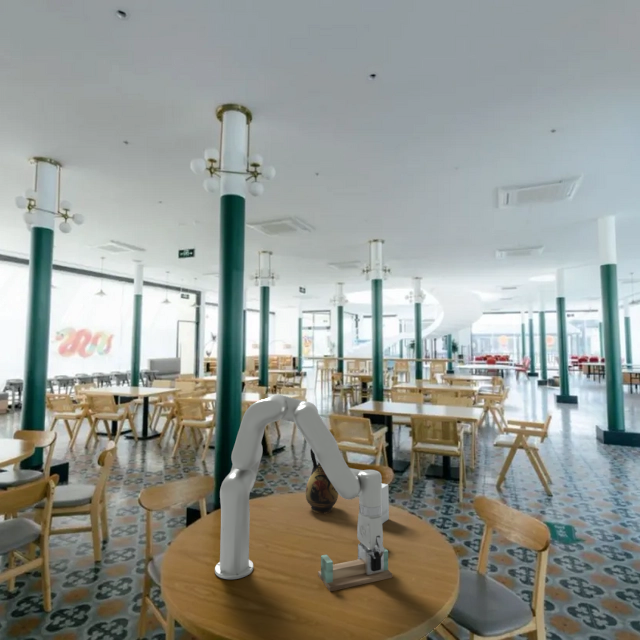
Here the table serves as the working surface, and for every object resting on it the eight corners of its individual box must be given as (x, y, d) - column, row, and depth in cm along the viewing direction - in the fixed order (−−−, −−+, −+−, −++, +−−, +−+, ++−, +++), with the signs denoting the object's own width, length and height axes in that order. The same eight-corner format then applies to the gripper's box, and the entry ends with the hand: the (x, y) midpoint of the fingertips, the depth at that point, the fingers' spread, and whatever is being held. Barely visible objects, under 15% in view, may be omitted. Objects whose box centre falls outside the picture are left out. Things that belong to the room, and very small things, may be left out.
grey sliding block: (357, 564, 139) (357, 544, 139) (373, 561, 141) (373, 541, 141) (367, 575, 132) (367, 553, 133) (383, 571, 134) (383, 550, 135)
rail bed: (318, 575, 135) (318, 552, 135) (376, 563, 143) (376, 541, 144) (330, 591, 126) (330, 566, 126) (392, 577, 134) (392, 554, 134)
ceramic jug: (343, 506, 196) (343, 442, 198) (330, 518, 181) (331, 449, 184) (310, 501, 202) (311, 439, 205) (296, 512, 188) (297, 445, 191)
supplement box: (371, 514, 186) (371, 480, 188) (389, 519, 181) (389, 484, 182) (361, 521, 179) (361, 485, 180) (379, 526, 174) (379, 489, 175)
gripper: (349, 501, 145) (349, 554, 143) (373, 520, 129) (373, 580, 127) (368, 499, 148) (368, 551, 146) (394, 517, 131) (394, 575, 130)
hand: (370, 564), depth 137 cm, fingers closed on grey sliding block, 6 cm apart
